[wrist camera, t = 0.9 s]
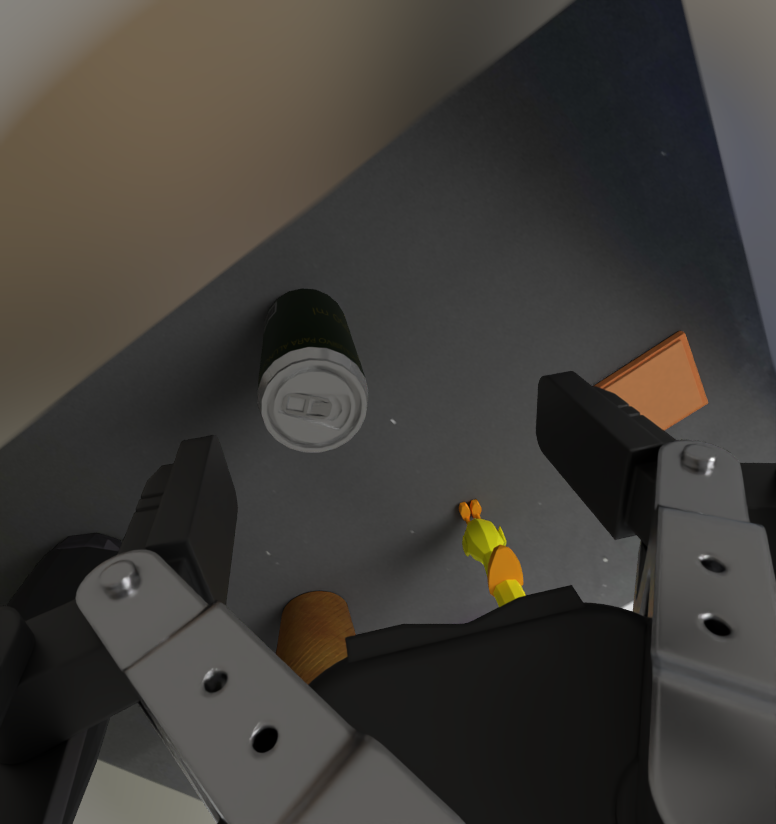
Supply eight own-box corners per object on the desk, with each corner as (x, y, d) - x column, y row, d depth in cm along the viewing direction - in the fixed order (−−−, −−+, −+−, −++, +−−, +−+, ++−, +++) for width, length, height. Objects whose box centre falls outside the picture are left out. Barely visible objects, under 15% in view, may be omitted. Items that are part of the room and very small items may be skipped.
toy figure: (445, 483, 42) (497, 595, 32) (485, 472, 43) (549, 580, 32) (454, 539, 46) (503, 657, 35) (491, 529, 46) (551, 643, 36)
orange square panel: (679, 330, 39) (687, 333, 38) (703, 400, 43) (711, 404, 42) (591, 387, 40) (597, 392, 39) (622, 450, 44) (628, 456, 43)
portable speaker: (140, 519, 39) (30, 815, 22) (162, 602, 43) (84, 901, 26) (18, 530, 37) (-203, 857, 20) (54, 615, 41) (-103, 940, 25)
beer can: (258, 353, 34) (247, 448, 24) (272, 276, 32) (266, 344, 21) (335, 368, 35) (356, 463, 25) (354, 296, 33) (385, 367, 23)
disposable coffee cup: (244, 630, 46) (233, 771, 36) (300, 564, 44) (305, 695, 33) (328, 657, 50) (339, 790, 40) (384, 597, 48) (412, 724, 37)
